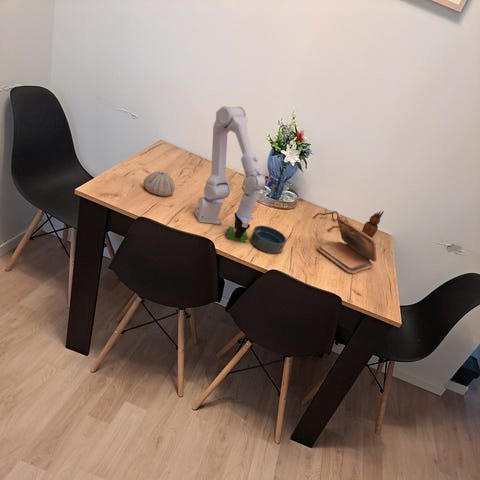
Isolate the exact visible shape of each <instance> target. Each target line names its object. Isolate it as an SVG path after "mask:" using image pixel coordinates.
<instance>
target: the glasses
mask: <svg viewBox="0 0 480 480" xmlns="http://www.w3.org/2000/svg"><path fill="white" fill-rule="evenodd" d="M334 213H335V214H336V219H335V217H334ZM319 215H321V216H326V215H331V219H332V220H333V221H335V222H338V221H337V219H338V218H341V219H343V218H342V217H341V216H340V215H339V212H338V211H336V210H334V211H332V212H331V211H329V212H326V213H322V212H318V213H316V214H314V216H313V217H312V218H313V219H315V218H316V217H317V216H319ZM344 220H345V221H346V222H348V223H349V224H350V221H348V220H347V219H344ZM333 229H339V226H337V225H336V226H335V225H334V226H331V227H330V228H329V229H327V232H331V230H333Z"/></svg>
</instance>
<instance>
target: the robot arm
mask: <svg viewBox="0 0 480 480" xmlns="http://www.w3.org/2000/svg"><path fill="white" fill-rule="evenodd" d="M247 124H248V117H247V113H246V110H245V109H244V108H243V107H242V106H226V105H224V106H220V108H219V109H218V110H217V111H216V112H215V121H214V123H213V127H212V145H211V146H212V148H211V149H212V150H211V171H210V176H209V177H208V178H207V179H206V180H205V186H204V188H203V194H204V196H200V197H198V200H197V203H196V206H195V210H194V211H193V212H194V215H195V217H196V219H197V220H198V222H199V223H205V224H213V225H214V224H215V225H221V222H220V220H219V216H220V213H221V211H222V208H223V204H224V201H225V199H227V198H229V196H230V194H231V188H230V184H229V183H230V181H229V179H228V177H227V176H226V167H227V152H228V151H227V150H228V135H229V132H232V133H234V134H235V135H236V139H237V142H238V145H239V148H240V151H241V154H242V156H241V157H240V162H241V164H242V168H243V172H244V175H245V178H244V180H243V184H244V189H243V193H242V196H241V199H240V202H239V205H238V208H237V210H236V212H234V224H233V227H235V228H236V232H235V238H238V239H240V238H241V237H242V235H243V234H244V232H245V231H246V232H247V230H248V229H250V228H251V225H250V224H249V222H250V221H251V220H254V218H255V216H254V215H253V213H254V209H255V206H256V204H257V201H258V199H259V196H260V193H261V190H262V189H264V188H265V187H266V184H267V179H266V178H267V177H266V176H265V174H264V173H263V172H262V171H261V169H260V165H259V158H258V156H257V155H256V154H255V153H254V152H253V150H252V146H251V142H250V137H249V133H248V132H249V131H248V128H247Z"/></svg>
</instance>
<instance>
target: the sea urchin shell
mask: <svg viewBox="0 0 480 480" xmlns="http://www.w3.org/2000/svg"><path fill="white" fill-rule="evenodd" d="M143 179H144V180H143V186H144V188H145V190H147V192H149V193H151V194H153V195H158V196H161V197H169V196H172V195H173V194H174V193H175V191H176V184H175V182H174V181H173V178H172V177H171V176H170V175H169V174H168V173H166V172H163V171H160V170H158V171H154V172H152V173H150V174H148V175H146V176H145V178H143Z"/></svg>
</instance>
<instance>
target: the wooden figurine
mask: <svg viewBox="0 0 480 480" xmlns="http://www.w3.org/2000/svg"><path fill="white" fill-rule="evenodd" d="M384 212H385V210H382V211H381V210H380V211H379V212H374V214H373V215H371V216H370V217H369V221H366V222H365V223H364V225H363V226H362V230H361V231H362V232H363V233H365V234H366V235H368V236H369V237H371V238H372V239H373V238H374V236H375V235H376V233H377V232H378V229H379V226H378V225H379V224H380V222H381V218H382V216H383V214H384Z"/></svg>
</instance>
